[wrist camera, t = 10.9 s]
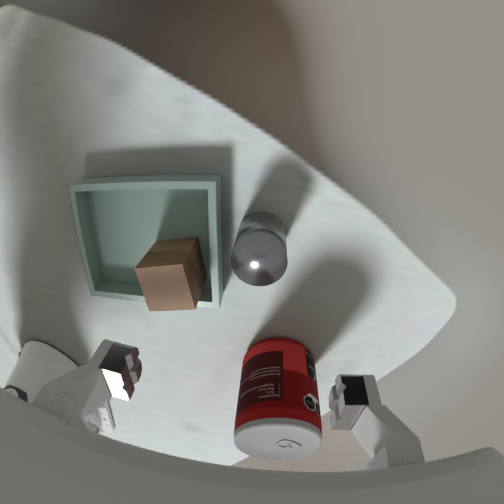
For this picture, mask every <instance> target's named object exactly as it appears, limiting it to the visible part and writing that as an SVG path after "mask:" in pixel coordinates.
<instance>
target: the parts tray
mask: <svg viewBox="0 0 504 504" xmlns="http://www.w3.org/2000/svg"><path fill="white" fill-rule="evenodd" d="M69 192H70V199H71V205H72V211H73V217H74V223H75V228H76V233H77V238H78V243H79V247H80V252H81V256H82V261H83V265H84V269H85V273H86V277H87V281H88V285H89V288H90V292H91V295H94V296H102V297H110V298H118V299H126V300H135V301H144V302H146V300H145V297H144V295H143V292H142V289H141V286H140V284H139V281H138V278H137V275H136V272H135V269H134V268H135V267H136V266H137V264H138V263H139V262H140V261H141V259H142V258H143V257H144V256H145V254H146V253H147V252H148V250H149V249H150V248H151V247H152V245H153V244H154V243H155V242H156V241H163V240H171V239H179V238H188V237H196V236H198V239H199V244H200V248H201V252H202V257H203V261H204V265H205V269H206V273H207V279H206V281H205V284H204V287H203V289H202V292H201V295H200V298H199V300H198V303H197V306H198V307H211V308H220V304H221V300H222V296H223V259H222V205H221V175H215V174H175V175H134V176H112V177H95V178H83V179H81V180H79V181H77V182H75V183H73V184H70V185H69Z"/></svg>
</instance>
